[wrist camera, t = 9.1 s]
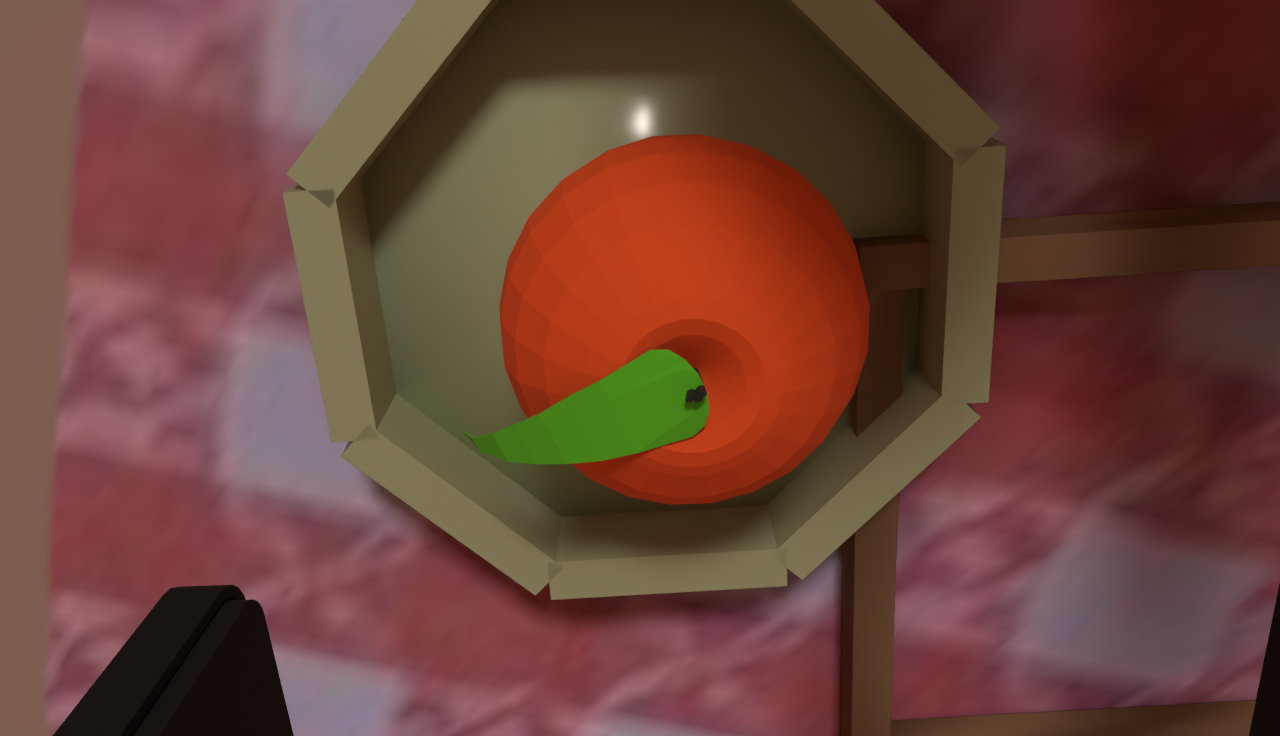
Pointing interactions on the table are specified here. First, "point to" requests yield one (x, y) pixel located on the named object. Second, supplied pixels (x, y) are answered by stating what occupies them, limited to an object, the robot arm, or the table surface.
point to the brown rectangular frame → (887, 273)
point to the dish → (528, 172)
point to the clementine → (680, 322)
